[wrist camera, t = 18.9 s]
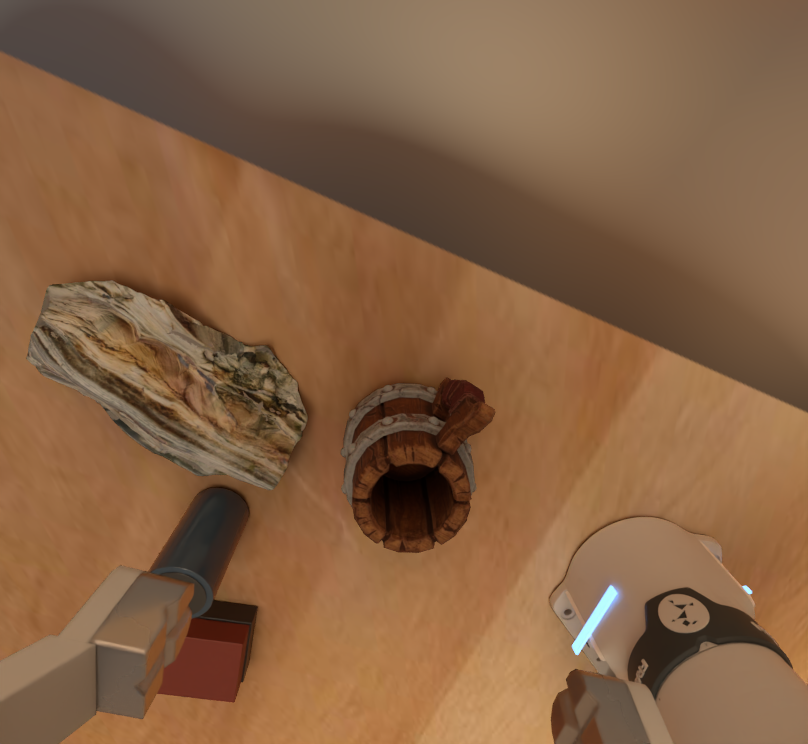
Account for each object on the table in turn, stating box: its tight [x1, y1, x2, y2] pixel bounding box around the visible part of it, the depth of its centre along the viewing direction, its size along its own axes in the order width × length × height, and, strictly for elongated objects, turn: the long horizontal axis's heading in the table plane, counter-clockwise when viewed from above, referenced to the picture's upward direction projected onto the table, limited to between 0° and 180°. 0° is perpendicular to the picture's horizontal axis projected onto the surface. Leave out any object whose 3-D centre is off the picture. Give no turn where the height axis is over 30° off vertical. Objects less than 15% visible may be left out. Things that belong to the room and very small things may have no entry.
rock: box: [26, 280, 308, 490], centre depth 39 cm, size 23×7×15 cm
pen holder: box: [148, 488, 249, 619], centre depth 41 cm, size 6×6×10 cm
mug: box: [341, 378, 495, 553], centre depth 38 cm, size 12×14×15 cm
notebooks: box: [157, 601, 258, 702], centre depth 48 cm, size 8×10×5 cm
